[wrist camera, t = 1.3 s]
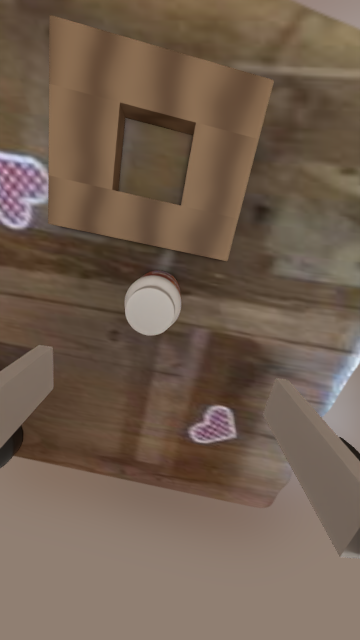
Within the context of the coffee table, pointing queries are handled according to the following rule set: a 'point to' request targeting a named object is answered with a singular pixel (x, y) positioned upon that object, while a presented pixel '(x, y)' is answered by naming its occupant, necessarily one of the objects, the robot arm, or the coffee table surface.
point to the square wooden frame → (158, 109)
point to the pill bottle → (153, 303)
